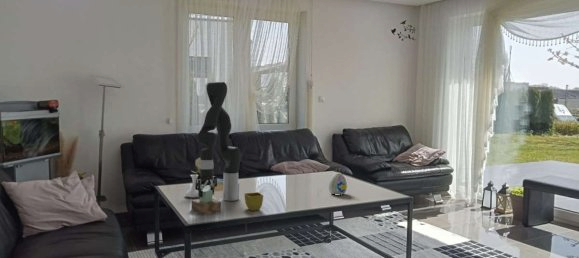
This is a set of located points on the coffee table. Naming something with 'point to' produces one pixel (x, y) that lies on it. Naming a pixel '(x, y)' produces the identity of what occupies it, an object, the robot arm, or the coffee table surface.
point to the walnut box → (206, 206)
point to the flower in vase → (194, 181)
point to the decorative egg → (337, 184)
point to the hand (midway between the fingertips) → (206, 195)
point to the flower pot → (253, 200)
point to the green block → (206, 196)
